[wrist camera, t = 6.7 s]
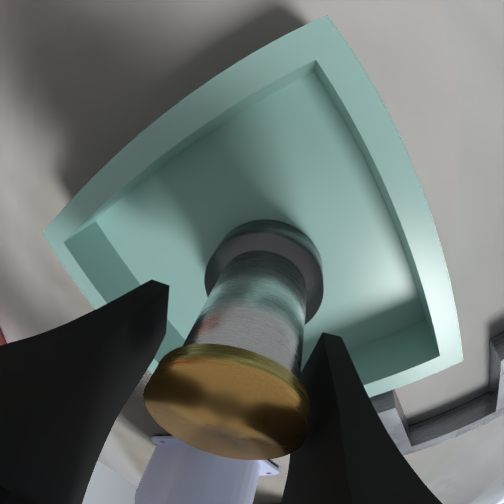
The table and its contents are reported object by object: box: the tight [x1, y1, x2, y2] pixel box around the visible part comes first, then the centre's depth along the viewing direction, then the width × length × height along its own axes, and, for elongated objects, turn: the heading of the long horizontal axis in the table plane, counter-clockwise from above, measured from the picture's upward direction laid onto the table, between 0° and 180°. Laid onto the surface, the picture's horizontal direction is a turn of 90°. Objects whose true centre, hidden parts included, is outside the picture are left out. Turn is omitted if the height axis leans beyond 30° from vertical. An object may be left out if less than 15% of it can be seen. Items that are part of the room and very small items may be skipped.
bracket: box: [369, 332, 504, 455], centre depth 14 cm, size 10×7×2 cm
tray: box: [42, 15, 463, 397], centre depth 11 cm, size 13×13×3 cm
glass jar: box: [143, 219, 324, 460], centre depth 9 cm, size 4×4×7 cm
